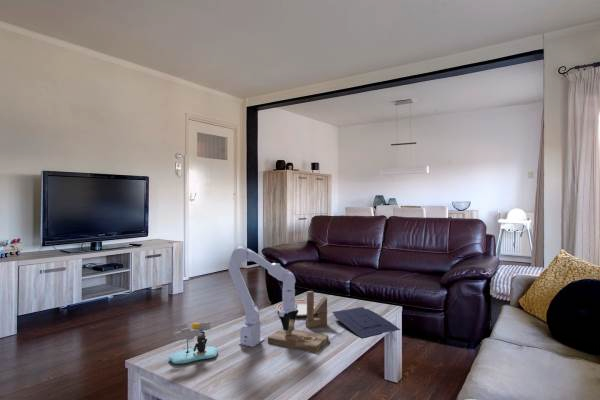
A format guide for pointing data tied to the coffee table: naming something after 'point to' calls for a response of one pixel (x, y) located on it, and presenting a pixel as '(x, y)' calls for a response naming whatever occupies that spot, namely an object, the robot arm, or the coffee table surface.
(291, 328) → the beige cylinder
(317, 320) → the wooden block
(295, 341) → the board
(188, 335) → the penguin figurine
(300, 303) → the dinner plate
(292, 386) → the coffee table surface
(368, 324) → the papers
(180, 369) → the coffee table surface
